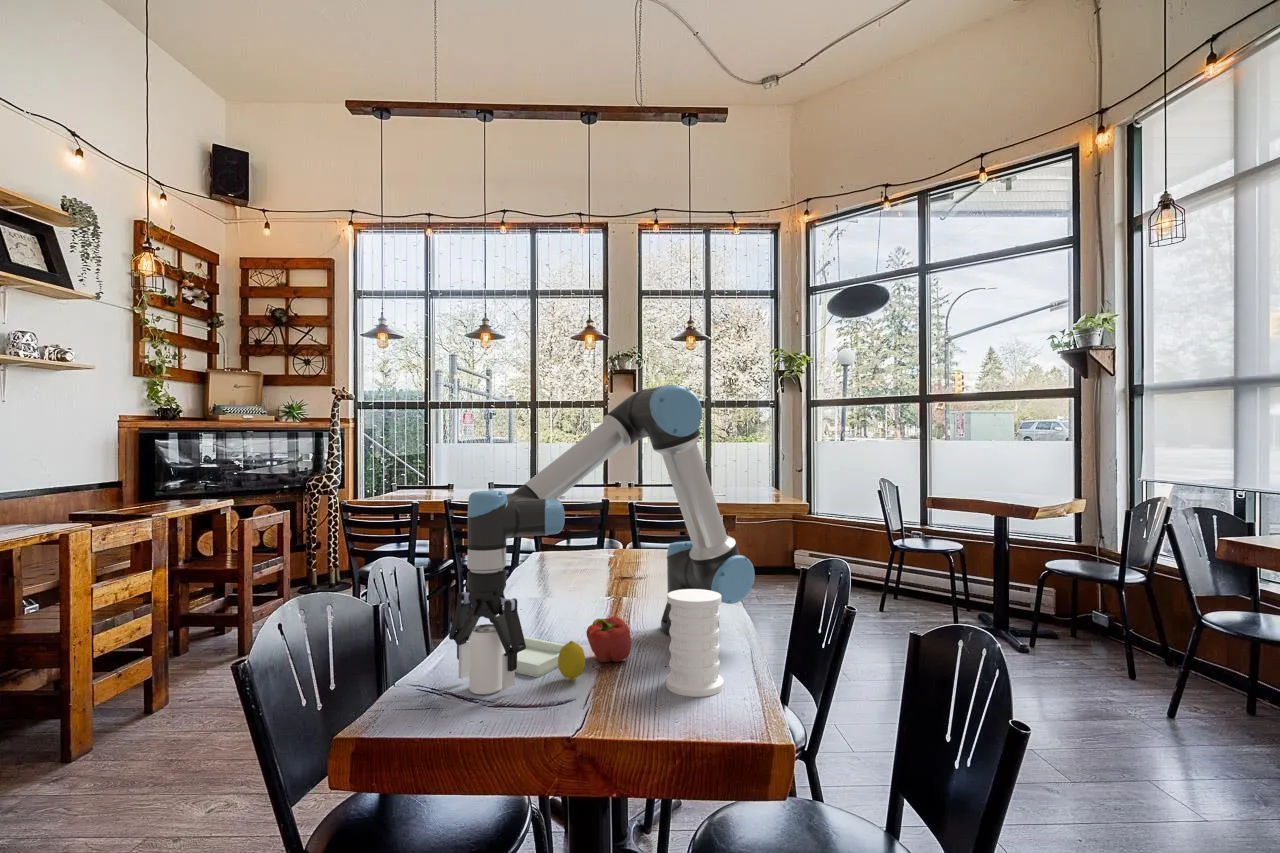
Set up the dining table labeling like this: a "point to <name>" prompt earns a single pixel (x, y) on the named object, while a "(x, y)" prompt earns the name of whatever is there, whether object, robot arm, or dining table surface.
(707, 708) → the dining table surface
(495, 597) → the robot arm
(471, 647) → the can
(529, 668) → the dish
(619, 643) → the vegetable
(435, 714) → the dining table surface
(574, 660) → the lemon
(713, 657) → the decorative container
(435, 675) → the dining table surface
